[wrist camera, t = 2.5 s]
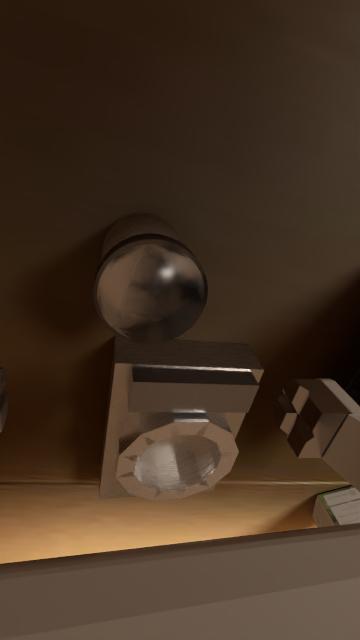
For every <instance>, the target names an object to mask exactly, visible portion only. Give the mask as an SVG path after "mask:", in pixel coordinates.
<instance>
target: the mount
mask: <svg viewBox="0 0 360 640" xmlns="http://www.w3.org/2000/svg"><path fill="white" fill-rule="evenodd" d="M263 372H264V369H263V367H262V365H261V364H260V362H259V361H258V359H257V358H256V356H255V355H254V353H253V352H252V350H251V349H250V347H249V345H247V344H232V343H217V342H202V341H187V340H172V339H171V340H168V341H165V342H160V343H153V344H143V343H136V342H132V341H129V340H126V339H123V338H121V337H119V336H115V342H114V350H113V359H112V368H111V376H110V385H109V394H108V402H107V411H106V420H105V428H104V437H103V445H102V454H101V463H100V480H99V499H106V498H120V497H135V496H140V497H143V498H147V499H150V500H167V499H181V498H185V497H187V496H190V495H193V494H195V493H198V492H208V491H213V490H214V488H215V486H216V483H217V482H218V481H219V480H220V479H222V478H223V477H224V476H225V475H226V474H228V473H229V472H230V471H231V468H232V466H233V464H234V462H235V459H236V457H237V455H238V453H239V451H238V448H237V446H236V443H235V438H236V436H237V433H238V431H239V429H240V426H241V424H242V421H243V419H244V417H245V414H246V413H248V412H249V409H250V407H251V405H252V402H253V400H254V398H255V395H256V393H257V390H258V388H259V386H260V385H259V384H258V383H259V381H260V379H261V376H262V374H263Z"/></svg>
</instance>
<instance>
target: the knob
mask: <svg viewBox="0 0 360 640" xmlns="http://www.w3.org/2000/svg"><path fill="white" fill-rule="evenodd" d="M207 293H208V287H207V280H206V276H205V273H204V271H203V269H202V267H201V265H200V264H199V262H198V261H197V259H196V258H195V256H194V255H193V254H192V252H191V251H190V250H189V249H188V248H187V247H186V246H185V245H183V244H182V242H181V241H180V239H179V238H178V236H177V235H176V233H175V232H174V230H173V229H172V227H171V226H170V225H169V224H168V223H167V222H166V221H164V220H163V219H161V218H160V217H158V216H155V215H153V214H149V213H133V214H129V215H126V216H124V217H122V218H120V219H119V220H117V221H116V222H115V223H114V224H113V225H112V226H111V227H110V228H109V230H108V231H107V233H106V235H105V237H104V241H103V246H102V255H101V262H100V264H99V266H98V269H97V272H96V277H95V283H94V291H93V298H94V304H95V308H96V311H97V313H98V315H99V317H100V319H101V320H102V322H103V323H104V324H105V325H106V326H107V328H108V329H110V330H111V331H112V332H113V333H115V334H116V335H118V336H119V337H121V338H123V339H126V340H129V341H132V342H136V343H143V344H153V343H160V342H165V341H168V340H171V339H173V338H176V337H178V336H179V335H181V334H183V333H184V332H186V331H187V330H188V329H189V328H190V327H191V326H193V325H194V323H195V322H196V321H197V320H198V318H199V317H200V315H201V313H202V311H203V309H204V307H205V304H206V300H207Z"/></svg>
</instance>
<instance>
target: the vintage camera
mask: <svg viewBox="0 0 360 640" xmlns="http://www.w3.org/2000/svg"><path fill="white" fill-rule="evenodd" d="M344 391H345V392H346V393H347V394H348V395H349V396H350V397H351V398H352V399H353V400H354V401H355V402H356V403H357V404H358V405H359V406H360V368H359V370H358V371H357V373H356V374H355V375H354V377H353V378H352V380H351V381H350V382H349V384H348V385H347V387H346V388H345V390H344Z"/></svg>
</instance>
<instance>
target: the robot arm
mask: <svg viewBox="0 0 360 640" xmlns="http://www.w3.org/2000/svg"><path fill="white" fill-rule="evenodd" d="M6 381H7V377H6V370H5V369H4V368H3V367H0V433H1V432H2V430H3V427H4V424H5V422H6V417H7V412H8V394H7V393H6V392H5V391H4V390H3V388H4V386H5V384H6ZM282 390H283V394H282V395H281V396H280V397H278V398H277V400H276V403H275V405H274V417H275V420H276V422H277V424H278V426H279V428H280V429H282V430H283V431H284V432H286V433H287V441H288V443H289V444H290V446H291V448H292V449H293V451H294V453H295V454H296V456H297V457H298V458H322V460H323V461H325V462H326V463H327V464H328V465H329V466H330V467H331V468H333V469H334V470H335V471H336V472H337V473H338V474H339V475H341V476H342V477H343V478H344V479H345V480H346V481H348V482H349V483H350V484H351V485H352V486H353V487H354V488H356V489H357V490H358V491H359V492H360V406H359V405H358V404H357V403H356V402H355V401H354V400H353V399H352V398H351V397H350V396H349V395H348V394H347V393H346V392H345V391H344V390H343V389H342V388H341V387H340V386H339V385H338V384H337V383H336V382H335V381H334V380H331V379H299V378H288V379H287V380H286V381H285V382H284V385H283V387H282ZM0 640H360V523H353V524H345V525H336V526H327V527H318V528H309V529H301V530H292V531H283V532H274V533H266V534H257V535H248V536H239V537H231V538H222V539H213V540H205V541H196V542H187V543H179V544H170V545H162V546H153V547H144V548H136V549H127V550H118V551H109V552H101V553H92V554H83V555H74V556H65V557H57V558H48V559H39V560H30V561H22V562H13V563H4V564H0Z"/></svg>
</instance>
